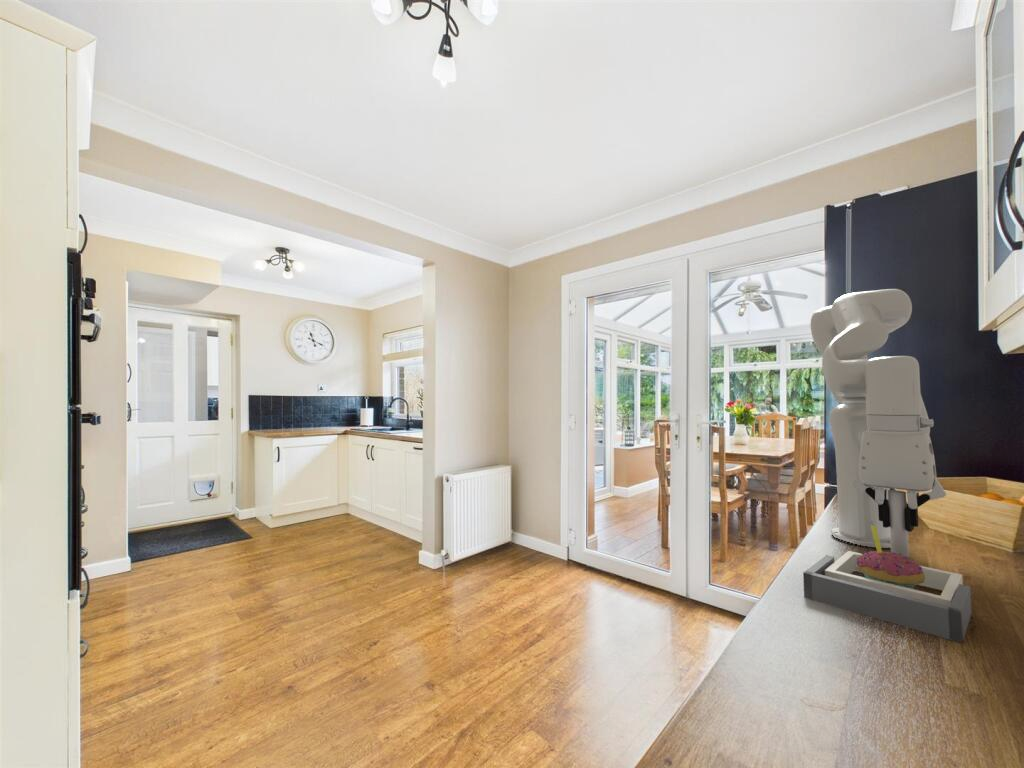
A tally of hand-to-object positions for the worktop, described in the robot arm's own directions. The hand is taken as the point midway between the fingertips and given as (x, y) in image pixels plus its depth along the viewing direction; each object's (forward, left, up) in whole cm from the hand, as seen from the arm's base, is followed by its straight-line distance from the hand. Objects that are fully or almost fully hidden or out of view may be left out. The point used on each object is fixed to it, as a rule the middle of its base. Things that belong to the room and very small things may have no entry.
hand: (898, 527), depth 79 cm
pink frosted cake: (+8, 0, -10) cm, 13 cm away
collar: (+7, 0, -10) cm, 12 cm away
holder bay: (+13, 0, -10) cm, 16 cm away
